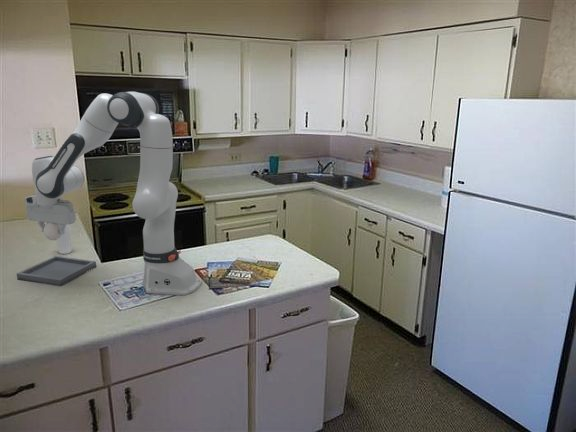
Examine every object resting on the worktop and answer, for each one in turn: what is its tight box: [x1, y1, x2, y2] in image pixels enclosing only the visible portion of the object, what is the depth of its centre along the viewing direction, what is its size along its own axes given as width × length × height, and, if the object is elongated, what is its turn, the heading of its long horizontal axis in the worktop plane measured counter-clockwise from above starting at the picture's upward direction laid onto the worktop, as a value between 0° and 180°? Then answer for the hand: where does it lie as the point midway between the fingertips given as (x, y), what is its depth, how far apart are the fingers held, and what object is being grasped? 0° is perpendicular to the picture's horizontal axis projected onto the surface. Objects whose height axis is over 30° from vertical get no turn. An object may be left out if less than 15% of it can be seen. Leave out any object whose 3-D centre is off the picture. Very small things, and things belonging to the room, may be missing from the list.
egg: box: [43, 222, 62, 241], centre depth 171 cm, size 6×6×8 cm
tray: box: [16, 255, 97, 287], centre depth 176 cm, size 20×20×2 cm
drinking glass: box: [56, 224, 73, 255], centre depth 196 cm, size 7×7×15 cm
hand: (53, 232), depth 171 cm, fingers closed on egg, 6 cm apart
